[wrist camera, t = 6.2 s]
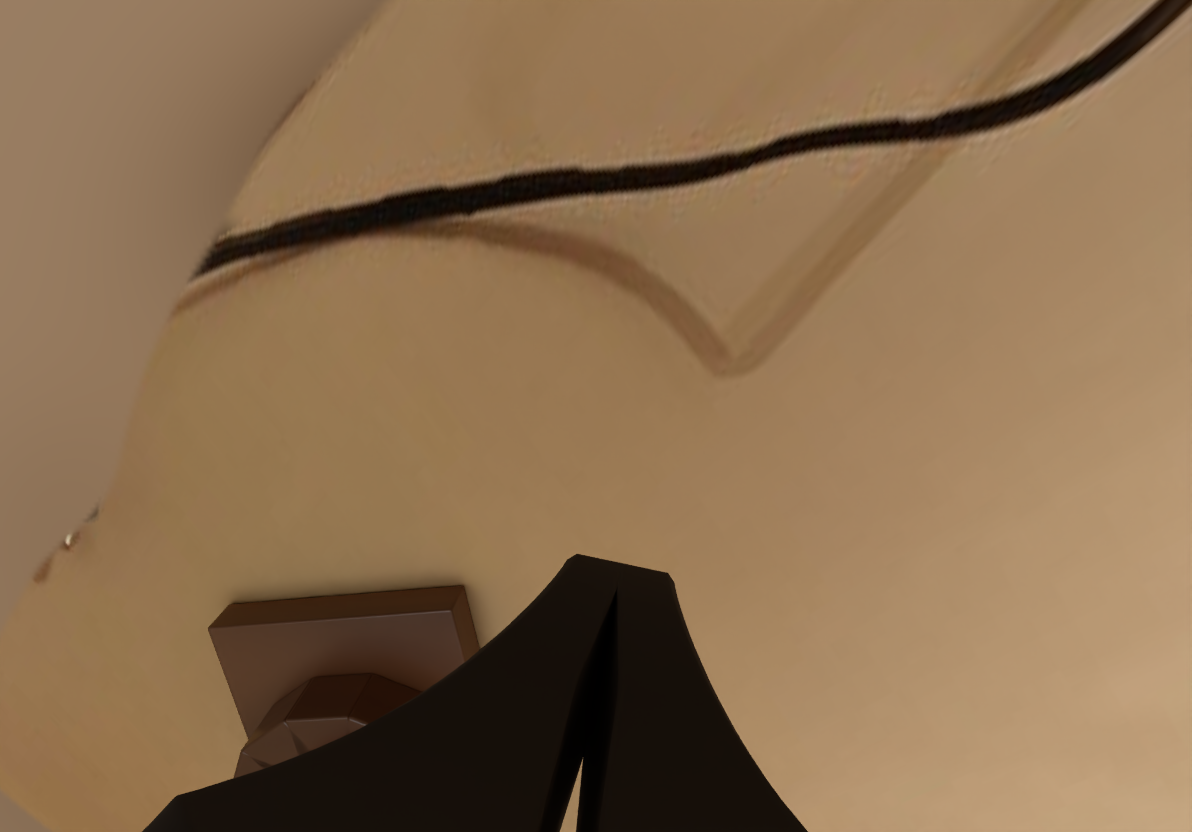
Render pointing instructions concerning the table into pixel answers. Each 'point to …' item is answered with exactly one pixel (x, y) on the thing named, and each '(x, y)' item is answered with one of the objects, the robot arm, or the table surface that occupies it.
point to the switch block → (334, 663)
